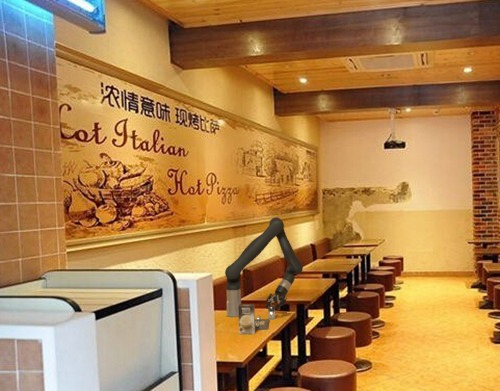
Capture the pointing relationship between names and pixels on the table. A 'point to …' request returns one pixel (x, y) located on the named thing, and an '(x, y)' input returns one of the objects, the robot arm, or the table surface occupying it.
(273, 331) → the table surface
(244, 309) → the coffee box
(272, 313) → the ball-topped cylinder
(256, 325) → the plate
